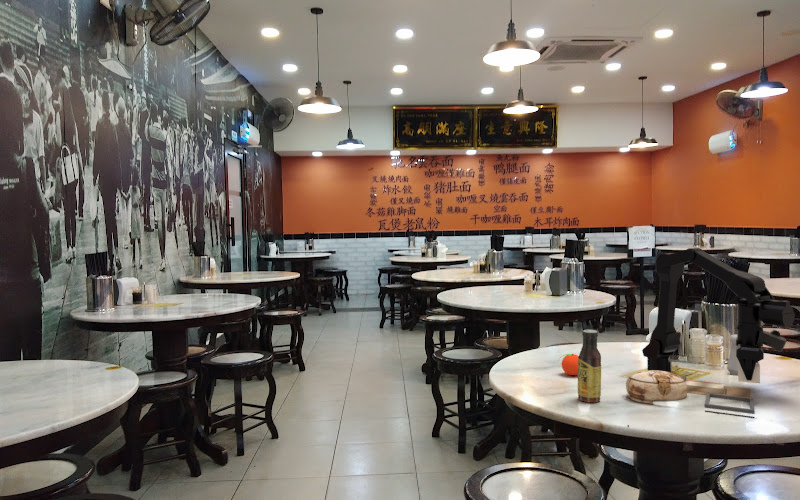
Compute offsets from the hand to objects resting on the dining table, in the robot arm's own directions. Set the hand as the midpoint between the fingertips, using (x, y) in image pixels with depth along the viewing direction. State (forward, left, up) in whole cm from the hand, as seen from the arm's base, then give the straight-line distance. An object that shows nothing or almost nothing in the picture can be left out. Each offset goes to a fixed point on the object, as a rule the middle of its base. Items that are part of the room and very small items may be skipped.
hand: (748, 377), depth 158 cm
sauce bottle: (-39, -21, -6) cm, 44 cm away
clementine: (-50, +3, -6) cm, 50 cm away
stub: (0, 0, -1) cm, 1 cm away
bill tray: (-5, -12, -6) cm, 14 cm away
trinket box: (-22, -11, -6) cm, 26 cm away
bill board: (-9, 0, -6) cm, 10 cm away
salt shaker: (-3, +25, -6) cm, 26 cm away
